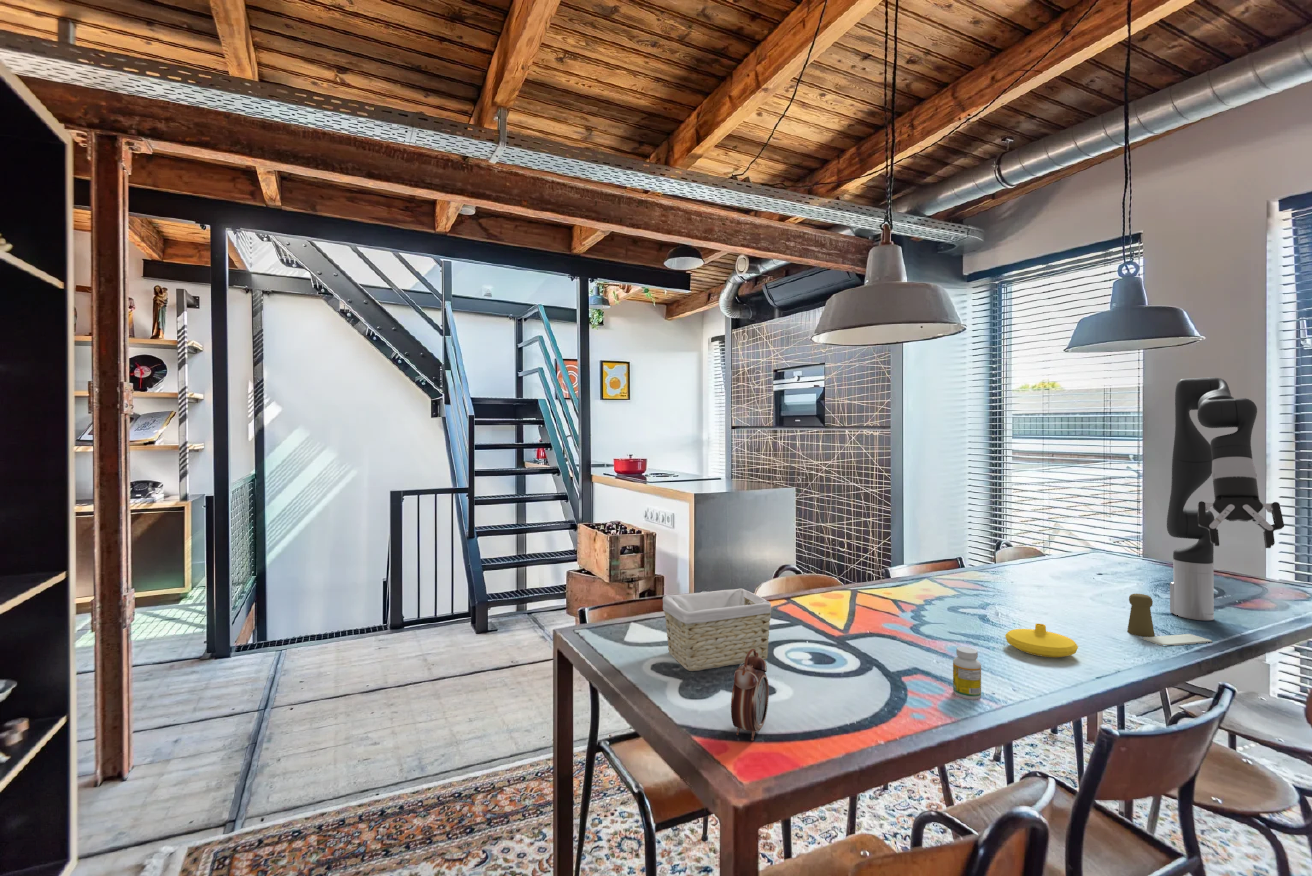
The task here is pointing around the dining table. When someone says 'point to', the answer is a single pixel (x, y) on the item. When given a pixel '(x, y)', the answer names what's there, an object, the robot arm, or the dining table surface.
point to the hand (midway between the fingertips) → (1242, 546)
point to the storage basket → (716, 627)
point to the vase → (1041, 642)
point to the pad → (1177, 639)
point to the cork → (1140, 616)
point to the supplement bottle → (967, 674)
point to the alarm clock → (750, 694)
